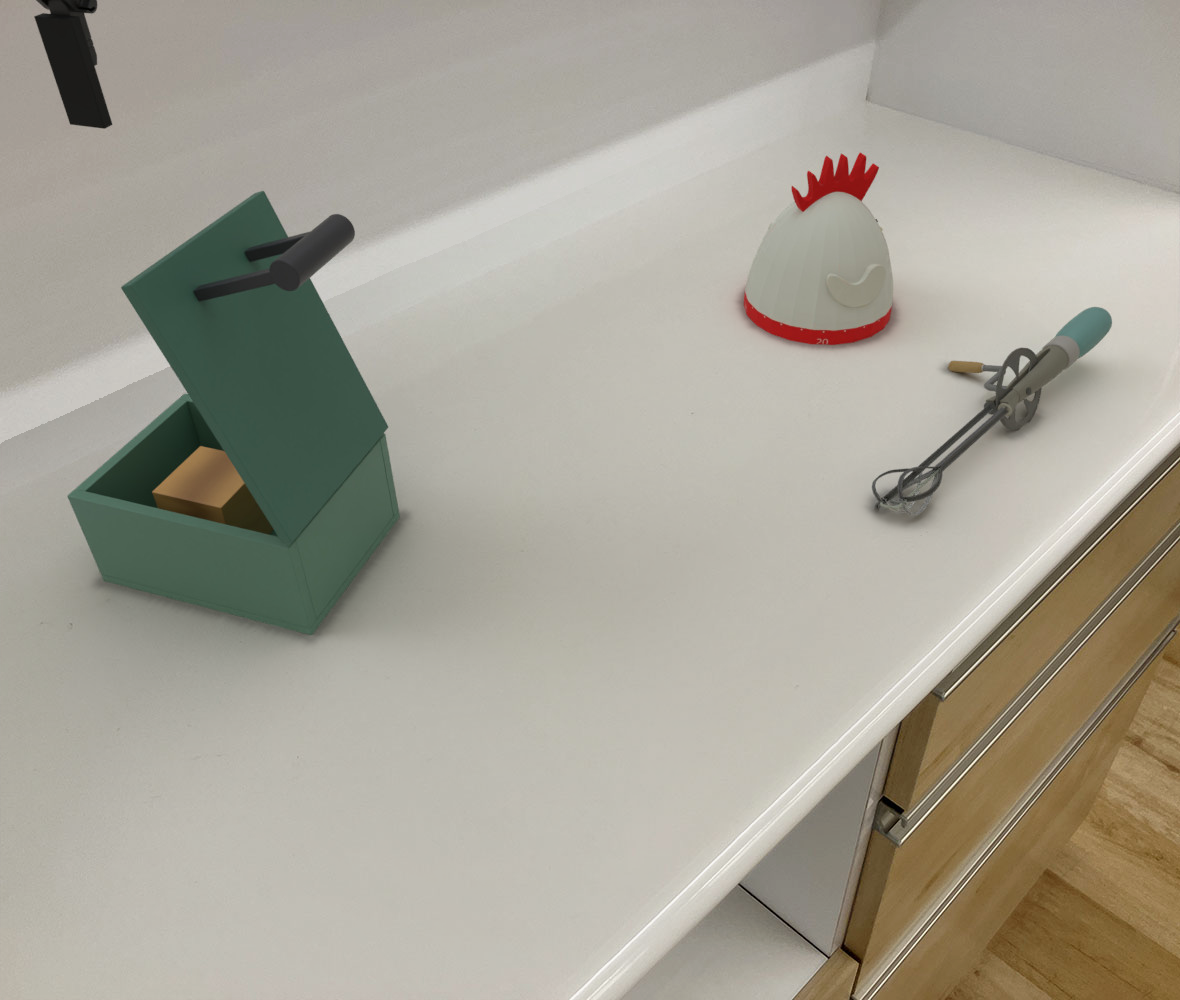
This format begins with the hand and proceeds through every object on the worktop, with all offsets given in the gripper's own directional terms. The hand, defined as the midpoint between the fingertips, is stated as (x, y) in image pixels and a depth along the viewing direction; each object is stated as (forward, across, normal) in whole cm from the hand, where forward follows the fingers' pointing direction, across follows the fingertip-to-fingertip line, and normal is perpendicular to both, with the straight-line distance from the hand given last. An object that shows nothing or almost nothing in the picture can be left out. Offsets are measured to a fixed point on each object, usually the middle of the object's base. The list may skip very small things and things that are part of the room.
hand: (14, 164), depth 62 cm
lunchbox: (+27, -1, -11) cm, 29 cm away
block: (+26, -1, -9) cm, 27 cm away
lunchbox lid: (+10, -1, -16) cm, 19 cm away
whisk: (+27, +31, -58) cm, 71 cm away
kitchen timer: (+27, +46, -43) cm, 68 cm away
